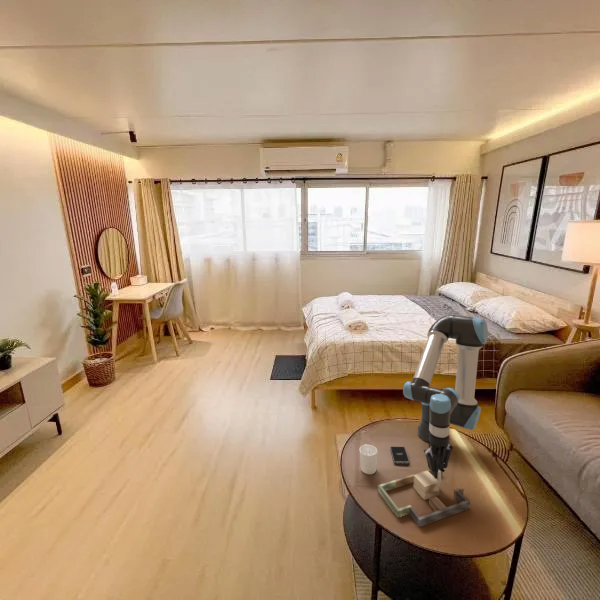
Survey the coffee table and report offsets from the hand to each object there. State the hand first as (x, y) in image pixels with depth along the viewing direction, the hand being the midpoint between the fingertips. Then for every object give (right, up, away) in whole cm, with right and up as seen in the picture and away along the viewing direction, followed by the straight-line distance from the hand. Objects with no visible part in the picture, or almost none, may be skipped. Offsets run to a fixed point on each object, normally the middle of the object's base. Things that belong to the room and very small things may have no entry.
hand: (437, 483), depth 136 cm
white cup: (-26, -1, +13) cm, 29 cm away
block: (-5, -3, -1) cm, 6 cm away
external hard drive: (-9, +1, +20) cm, 23 cm away
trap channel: (-7, -3, -5) cm, 9 cm away
